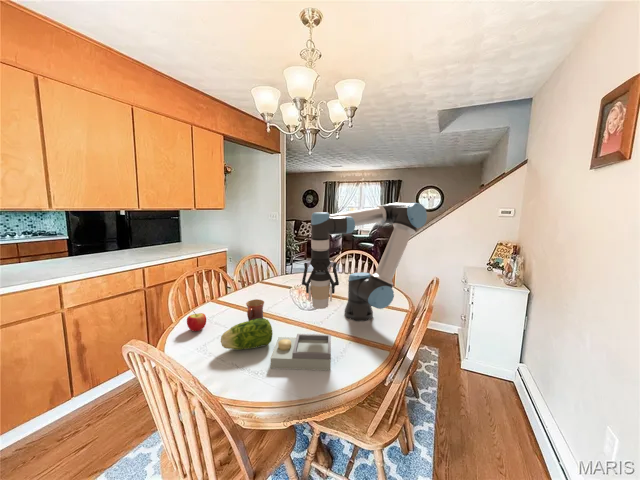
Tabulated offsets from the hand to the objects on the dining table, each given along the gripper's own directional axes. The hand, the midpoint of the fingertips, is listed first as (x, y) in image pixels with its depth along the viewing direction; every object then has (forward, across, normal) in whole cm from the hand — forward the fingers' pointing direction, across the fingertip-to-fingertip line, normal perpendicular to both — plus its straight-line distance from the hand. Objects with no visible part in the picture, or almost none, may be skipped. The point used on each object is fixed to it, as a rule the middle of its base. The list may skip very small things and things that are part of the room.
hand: (320, 300), depth 115 cm
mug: (+18, +33, -13) cm, 40 cm away
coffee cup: (+3, 0, 0) cm, 3 cm away
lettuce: (+18, +30, +9) cm, 36 cm away
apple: (+18, +58, -5) cm, 61 cm away
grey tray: (+18, +6, +14) cm, 24 cm away
